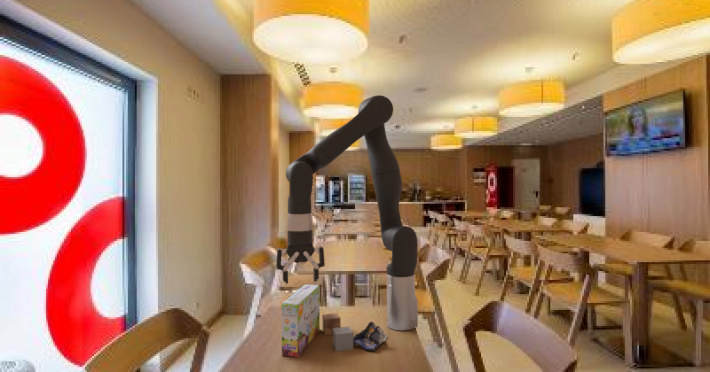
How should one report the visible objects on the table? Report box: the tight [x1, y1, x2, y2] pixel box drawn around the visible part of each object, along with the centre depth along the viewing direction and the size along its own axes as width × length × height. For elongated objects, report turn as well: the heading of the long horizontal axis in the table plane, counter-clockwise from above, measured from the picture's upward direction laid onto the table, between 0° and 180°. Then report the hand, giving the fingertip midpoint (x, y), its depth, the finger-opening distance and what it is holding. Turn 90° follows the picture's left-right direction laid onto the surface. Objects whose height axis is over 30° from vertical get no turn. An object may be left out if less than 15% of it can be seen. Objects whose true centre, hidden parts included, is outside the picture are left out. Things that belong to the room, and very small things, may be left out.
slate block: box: [332, 326, 354, 352], centre depth 127 cm, size 5×5×5 cm
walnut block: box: [321, 312, 342, 336], centre depth 139 cm, size 5×5×5 cm
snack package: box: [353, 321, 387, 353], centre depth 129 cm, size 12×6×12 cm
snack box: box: [280, 284, 321, 358], centre depth 131 cm, size 21×6×15 cm, turn 168°
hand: (300, 282), depth 130 cm, fingers open, 8 cm apart
